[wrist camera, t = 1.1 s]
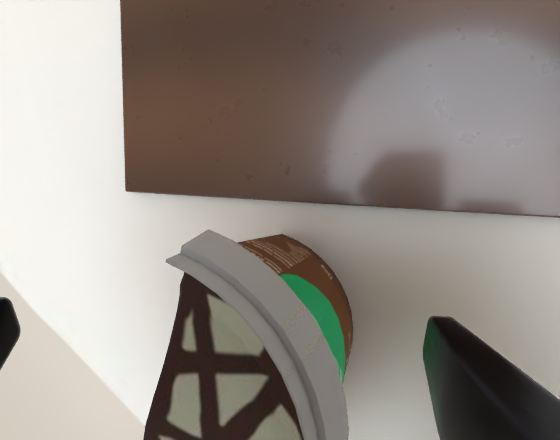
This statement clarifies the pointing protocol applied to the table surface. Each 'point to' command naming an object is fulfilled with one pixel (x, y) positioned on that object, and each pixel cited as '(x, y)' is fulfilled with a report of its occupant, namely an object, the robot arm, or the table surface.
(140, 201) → the table surface
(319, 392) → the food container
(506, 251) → the table surface
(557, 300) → the table surface
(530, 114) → the walnut board
